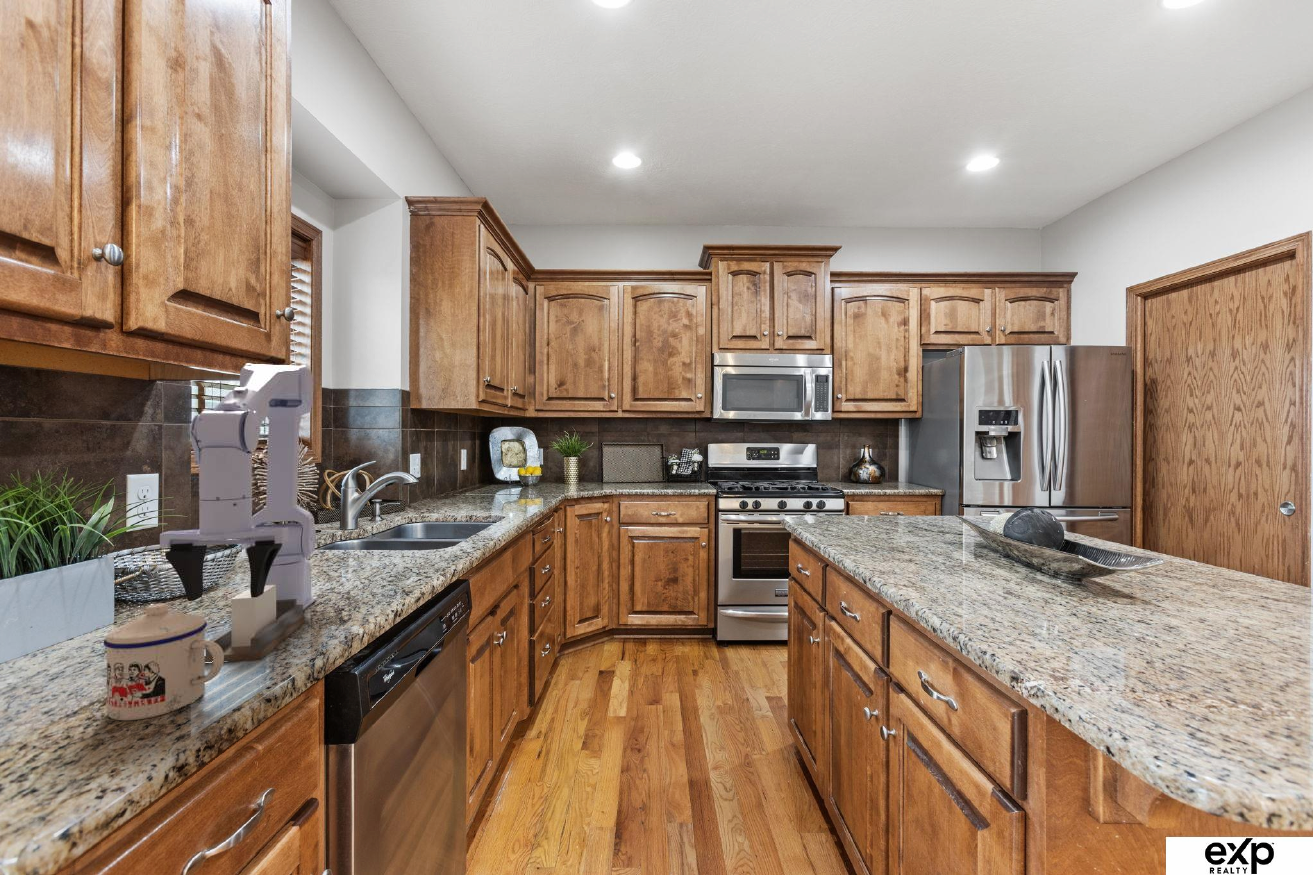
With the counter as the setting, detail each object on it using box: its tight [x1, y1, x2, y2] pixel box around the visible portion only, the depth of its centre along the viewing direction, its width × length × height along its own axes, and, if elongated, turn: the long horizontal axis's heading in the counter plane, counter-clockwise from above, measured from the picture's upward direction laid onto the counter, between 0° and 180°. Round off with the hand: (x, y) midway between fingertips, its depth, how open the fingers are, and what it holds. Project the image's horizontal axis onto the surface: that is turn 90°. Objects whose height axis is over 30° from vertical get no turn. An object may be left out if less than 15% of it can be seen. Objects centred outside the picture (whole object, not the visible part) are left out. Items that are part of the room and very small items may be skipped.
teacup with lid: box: [103, 602, 225, 721], centre depth 66 cm, size 12×9×12 cm
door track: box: [205, 599, 306, 662], centre depth 86 cm, size 16×7×4 cm, turn 13°
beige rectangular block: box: [230, 585, 276, 647], centre depth 84 cm, size 3×7×7 cm, turn 13°
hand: (226, 597), depth 77 cm, fingers open, 7 cm apart
